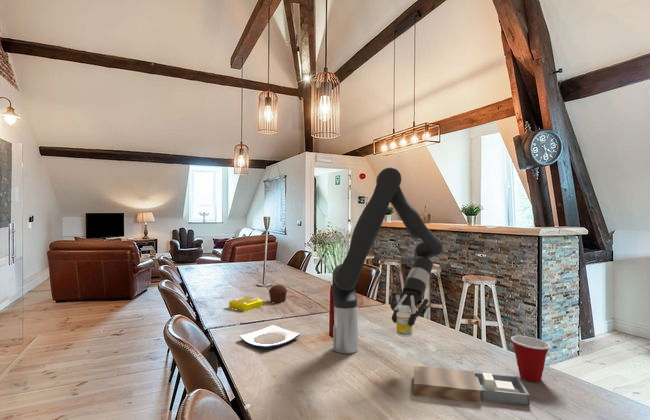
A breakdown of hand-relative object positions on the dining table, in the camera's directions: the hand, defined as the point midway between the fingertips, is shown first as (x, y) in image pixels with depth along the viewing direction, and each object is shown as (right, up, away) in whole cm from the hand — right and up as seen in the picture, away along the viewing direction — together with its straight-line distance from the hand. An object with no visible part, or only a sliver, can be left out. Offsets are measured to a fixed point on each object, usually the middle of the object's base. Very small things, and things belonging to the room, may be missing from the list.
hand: (401, 323), depth 117 cm
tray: (+25, -15, -17) cm, 34 cm away
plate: (-50, -18, +29) cm, 61 cm away
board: (+10, -15, -14) cm, 23 cm away
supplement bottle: (+1, -4, +1) cm, 5 cm away
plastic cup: (+39, -15, -8) cm, 43 cm away
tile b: (+26, -12, -18) cm, 33 cm away
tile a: (+20, -12, -17) cm, 29 cm away
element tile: (-72, -19, +83) cm, 112 cm away
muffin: (-55, -18, +94) cm, 111 cm away
